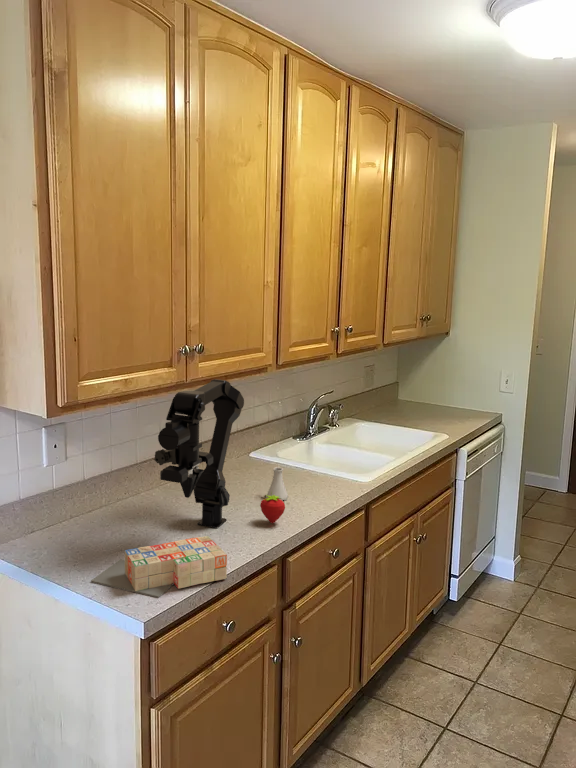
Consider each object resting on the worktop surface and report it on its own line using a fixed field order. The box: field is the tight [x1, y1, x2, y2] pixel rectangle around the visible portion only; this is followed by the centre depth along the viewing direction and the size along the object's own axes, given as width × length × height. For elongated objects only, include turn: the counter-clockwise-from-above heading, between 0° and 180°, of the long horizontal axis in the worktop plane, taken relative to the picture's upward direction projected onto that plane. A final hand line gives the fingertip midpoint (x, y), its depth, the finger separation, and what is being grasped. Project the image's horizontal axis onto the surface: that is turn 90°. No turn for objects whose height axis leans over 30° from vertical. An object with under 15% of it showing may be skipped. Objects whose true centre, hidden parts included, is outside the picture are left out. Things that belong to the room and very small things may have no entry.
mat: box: [90, 558, 175, 599], centre depth 153 cm, size 12×18×1 cm, turn 70°
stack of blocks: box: [124, 535, 228, 591], centre depth 153 cm, size 21×6×12 cm
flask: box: [265, 466, 289, 502], centre depth 208 cm, size 7×7×10 cm
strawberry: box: [259, 492, 286, 524], centre depth 187 cm, size 6×8×10 cm
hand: (187, 497), depth 171 cm, fingers closed
